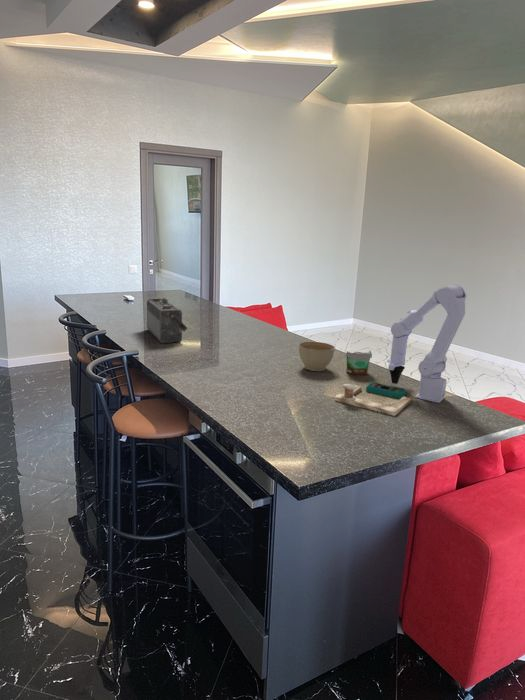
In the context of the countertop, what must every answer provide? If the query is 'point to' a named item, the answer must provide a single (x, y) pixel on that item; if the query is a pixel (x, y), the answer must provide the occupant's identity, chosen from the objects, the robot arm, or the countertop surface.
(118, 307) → the countertop surface
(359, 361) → the food container
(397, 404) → the notched board
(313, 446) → the countertop surface
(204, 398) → the countertop surface
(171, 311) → the radio
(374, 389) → the digital multimeter
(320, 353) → the planter bowl
